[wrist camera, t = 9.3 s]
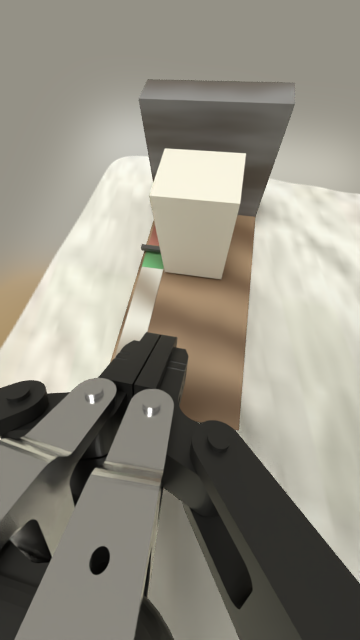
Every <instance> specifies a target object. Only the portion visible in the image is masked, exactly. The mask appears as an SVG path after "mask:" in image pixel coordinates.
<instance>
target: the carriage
mask: <svg viewBox="0 0 360 640" xmlns="http://www.w3.org/2000/svg"><path fill="white" fill-rule="evenodd" d="M245 158H246V153H231V152H215V151H199V150H183V149H167V148H165V149H164V152H163V155H162V158H161V161H160V164H159V167H158V170H157V173H156V176H155V179H154V182H153V185H152V188H151V191H150V194H149V198H150V203H151V208H152V212H153V217H154V222H155V227H156V232H157V237H158V241H159V246H153V245H144V244H142V246H141V250H143V251H151V252H160V253H161V256H162V261H163V266H164V270H165V272H169V273H177V274H185V275H192V276H200V277H207V278H215V279H221V278H222V274H223V270H224V266H225V262H226V258H227V254H228V250H229V246H230V242H231V238H232V234H233V230H234V226H235V222H236V218H237V214H238V211H239V207H240V201H241V192H242V184H243V175H244V166H245Z"/></svg>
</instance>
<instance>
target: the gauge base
mask: <svg viewBox="0 0 360 640" xmlns="http://www.w3.org/2000/svg"><path fill="white" fill-rule="evenodd" d="M139 103H140V109H141V115H142V121H143V126H144V132H145V138H146V143H147V149H148V155H149V161H150V166H151V172H152V178H153V182H154V179H155V176H156V173H157V170H158V167H159V164H160V161H161V158H162V155H163V152H164V149H165V148H167V149H183V150H199V151H215V152H231V153H246V158H245V166H244V175H243V184H242V192H241V201H240V207H239V211H238V214H237V218H236V222H235V226H234V230H233V234H232V238H231V242H230V246H229V250H228V254H227V258H226V262H225V266H224V270H223V274H222V278H221V279H215V278H207V277H200V276H192V275H185V274H177V273H169V272H165V270H164V266H163V261H162V256H161V253H160V252H151V251H144V254H143V257H142V260H141V264H140V267H139V270H138V273H137V277H136V280H135V283H134V286H133V290H132V293H131V296H130V300H129V303H128V306H127V309H126V313H125V316H124V319H123V322H122V326H121V329H120V332H119V336H118V339H117V342H116V345H115V349H114V352H113V355H112V359H111V362H112V360H113V359H114V358H115V357H116V355H117V354H118V353H120V351H121V349H122V348H123V347H124V346H125V345H126V344H128V343H130V342H131V341H133V340H136V341H140V340H141V338H142V337H143V336H144V334H145V333H146V332H150V333H155V334H161V335H167V336H173V337H177V348H182V349H186V351H187V354H188V356H189V357H188V365H187V372H186V380H185V385H184V389H183V394H182V398H181V403H180V409H181V410H182V412H183V413H184V414H185V415H186V416H187V417H188V418H190V419H191V420H193V421H197V422H201V423H202V422H204V421H208V420H216V421H221V422H223V423H226V424H227V425H229V426H231V427H232V428H233V429H234V430H239V420H240V407H241V394H242V382H243V369H244V356H245V343H246V330H247V317H248V305H249V292H250V279H251V266H252V253H253V240H254V228H255V216H256V213H257V211H258V208H259V205H260V202H261V199H262V196H263V194H264V191H265V188H266V185H267V182H268V179H269V176H270V174H271V170H272V168H273V165H274V162H275V159H276V157H277V154H278V151H279V148H280V145H281V142H282V139H283V137H284V134H285V131H286V128H287V125H288V122H289V120H290V117H291V114H292V111H293V108H294V105H295V83H282V82H239V81H238V82H237V81H194V80H152V79H148V80H147V82H146V84H145V86H144V88H143V90H142V93H141V95H140V97H139ZM146 245H153V246H159V241H158V237H157V232H156V227H155V222H154V221H153V224H152V227H151V231H150V234H149V237H148V241H147V244H146ZM111 362H110V363H111Z"/></svg>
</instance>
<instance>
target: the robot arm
mask: <svg viewBox="0 0 360 640" xmlns="http://www.w3.org/2000/svg"><path fill="white" fill-rule="evenodd" d="M188 357H189V356H188V354H187V351H186V349H182V348H177V337H173V336H167V335H161V334H155V333H150V332H146V333H145V334H144V336H143V337H142V338H141V340H140V341H136V340H133V341H131V342H130V343H128V344H126V345H125V346H124V347H123V348H122V349H121V351H120V353H118V354H117V355H116V357H115V358H114V359H113V360H112V362H111V363H110V364H109V365H108V366H107V368H106V369H105V370H104V371H103V373H102V374H101V375H100V376H99V377H98V378H94V379H89V380H86V381H84V382H82V383H80V384H79V385H78V386H76V387H75V388H74V389H73V390H72V391H71V392H68V393H50V394H47V392H46V387H45V385H44V384H43V383H41V382H39V381H34V380H28V381H22V382H18V383H15V384H12V385H8V386H5V387H2V388H0V438H1V440H0V640H174V639H173V636H172V634H171V632H170V630H169V628H168V626H167V625H166V623H165V621H164V620H163V618H162V616H161V615H160V613H159V612H158V610H157V609H156V608H155V607H154V605H153V604H152V603H151V602H150V600H149V599H148V595H149V588H150V581H151V574H152V568H153V561H154V553H155V546H156V538H157V531H158V524H159V518H160V511H161V504H162V498H163V491H164V488H165V489H166V490H168V491H169V492H170V493H171V494H173V495H174V496H175V497H177V498H178V499H179V500H181V501H182V502H183V506H184V509H185V512H186V514H187V517H188V519H189V521H190V524H191V526H192V528H193V531H194V533H195V535H196V538H197V540H198V543H199V545H200V547H201V550H202V552H203V554H204V557H205V559H206V561H207V564H208V566H209V568H210V571H211V573H212V576H213V578H214V580H215V583H216V585H217V587H218V590H219V592H220V594H221V597H222V599H223V601H224V604H225V606H226V609H227V611H228V613H229V616H230V618H231V620H232V623H233V625H234V627H235V630H236V632H237V634H238V637H239V639H240V640H360V583H359V582H358V581H357V580H356V578H355V577H354V576H353V575H352V573H351V572H350V571H349V570H348V569H347V567H346V566H345V565H344V564H343V562H342V561H341V560H340V559H339V557H338V556H337V555H336V554H335V553H334V551H333V550H332V549H331V548H330V546H329V545H328V544H327V543H326V541H325V540H324V539H323V538H322V537H321V535H320V534H319V533H318V532H317V530H316V529H315V528H314V527H313V525H312V524H311V523H310V522H309V521H308V519H307V518H306V517H305V516H304V514H303V513H302V512H301V511H300V509H299V508H298V507H297V506H296V505H295V503H294V502H293V501H292V500H291V498H290V497H289V496H288V495H287V493H286V492H285V491H284V490H283V489H282V487H281V486H280V485H279V484H278V482H277V481H276V480H275V479H274V477H273V476H272V475H271V474H270V472H269V471H268V470H267V469H266V468H265V466H264V465H263V464H262V463H261V461H260V460H259V459H258V458H257V456H256V455H255V454H254V453H253V452H252V450H251V449H250V448H249V447H248V445H247V444H246V443H245V442H244V440H243V439H242V438H241V437H240V436H239V434H238V433H237V432H236V431H235V430H234V429H233V428H232V427H231V426H229V425H227V424H226V423H223V422H221V421H216V420H208V421H204V422H202V423H200V424H199V423H197V422H195V421H193V420H191V419H190V418H188V417H187V416H186V415H185V414H184V413H183V412H182V410H181V409H180V403H181V398H182V394H183V389H184V385H185V380H186V372H187V365H188Z"/></svg>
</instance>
